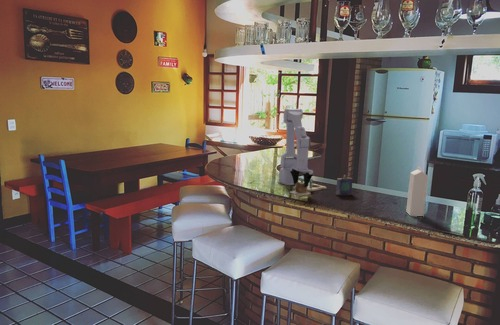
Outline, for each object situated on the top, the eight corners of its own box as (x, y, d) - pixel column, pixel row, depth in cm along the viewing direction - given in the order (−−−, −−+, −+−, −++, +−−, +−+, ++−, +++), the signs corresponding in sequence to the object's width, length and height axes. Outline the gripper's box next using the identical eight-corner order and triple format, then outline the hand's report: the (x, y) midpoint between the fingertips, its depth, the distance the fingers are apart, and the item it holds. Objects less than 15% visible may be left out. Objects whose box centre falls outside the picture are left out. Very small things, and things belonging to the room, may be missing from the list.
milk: (409, 216, 177) (414, 168, 173) (405, 212, 183) (410, 165, 179) (423, 217, 176) (429, 168, 172) (419, 213, 182) (424, 166, 178)
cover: (295, 186, 220) (295, 176, 220) (301, 185, 224) (302, 175, 223) (305, 189, 214) (306, 179, 213) (312, 188, 217) (312, 178, 217)
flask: (337, 195, 209) (338, 175, 207) (334, 194, 211) (335, 174, 210) (352, 194, 212) (354, 175, 210) (349, 193, 214) (350, 174, 213)
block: (295, 191, 211) (296, 182, 210) (300, 190, 214) (301, 181, 213) (300, 193, 208) (301, 184, 207) (306, 192, 210) (306, 183, 210)
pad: (289, 192, 211) (289, 191, 211) (300, 190, 216) (300, 189, 216) (300, 195, 205) (300, 194, 205) (310, 194, 210) (310, 192, 210)
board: (293, 188, 221) (293, 186, 221) (313, 185, 231) (313, 183, 231) (306, 192, 213) (306, 190, 213) (326, 188, 224) (326, 186, 224)
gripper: (287, 158, 211) (285, 183, 213) (307, 162, 199) (305, 189, 202) (296, 157, 215) (295, 182, 217) (316, 161, 204) (314, 187, 206)
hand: (300, 185), depth 210 cm, fingers open, 7 cm apart
